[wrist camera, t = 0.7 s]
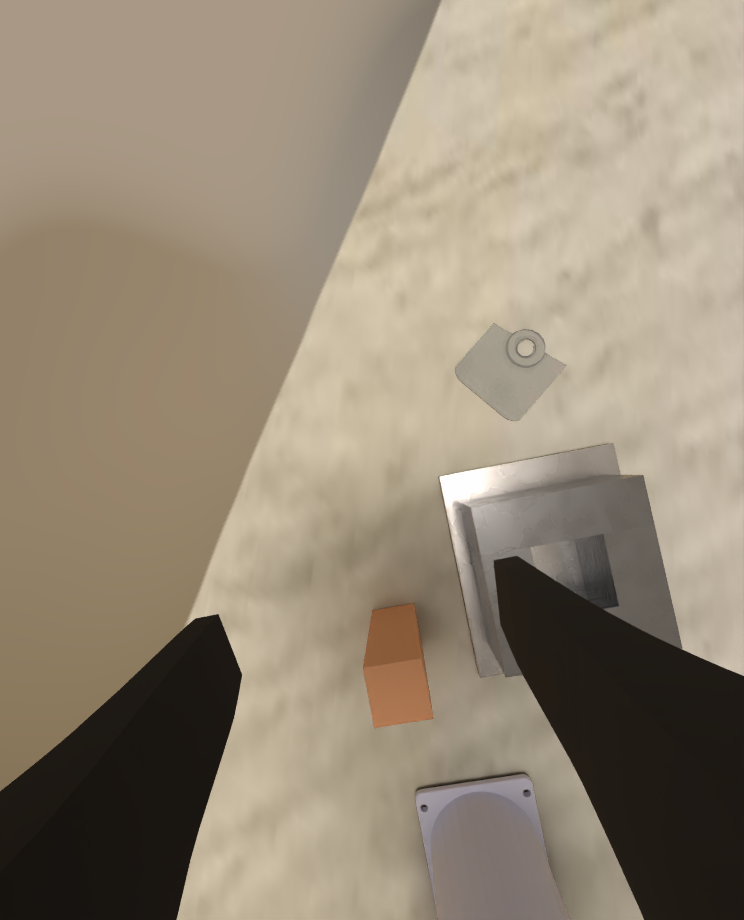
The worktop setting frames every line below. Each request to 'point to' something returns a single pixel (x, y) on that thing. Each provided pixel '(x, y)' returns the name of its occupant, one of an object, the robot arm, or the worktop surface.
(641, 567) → the slotted block
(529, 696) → the worktop surface
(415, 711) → the tan rectangular block
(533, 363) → the mounting bracket
